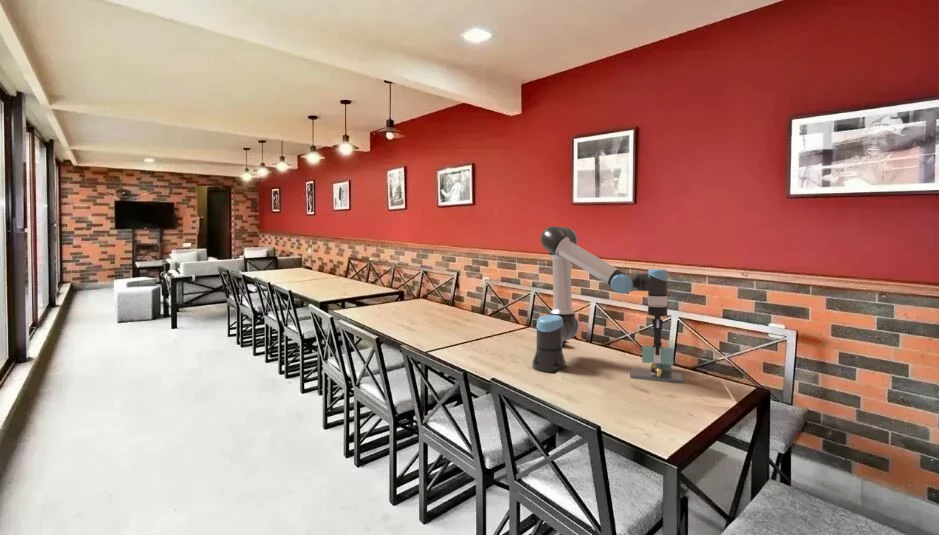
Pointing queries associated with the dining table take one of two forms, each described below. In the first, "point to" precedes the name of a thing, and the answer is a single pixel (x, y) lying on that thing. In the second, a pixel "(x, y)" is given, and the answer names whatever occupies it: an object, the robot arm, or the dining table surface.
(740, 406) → the dining table surface
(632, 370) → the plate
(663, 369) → the cup
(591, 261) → the robot arm
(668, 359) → the teal rectangular block
